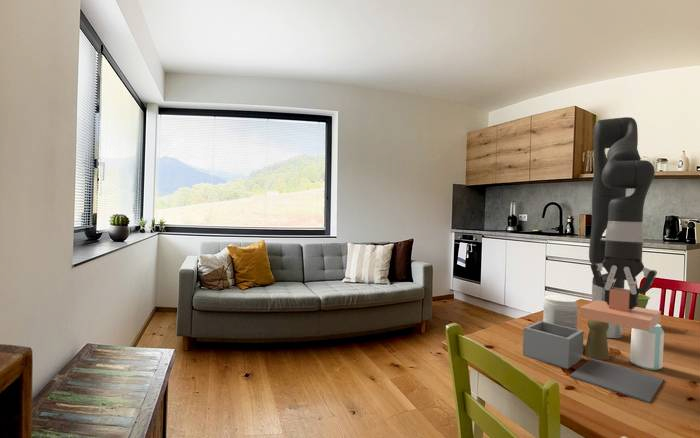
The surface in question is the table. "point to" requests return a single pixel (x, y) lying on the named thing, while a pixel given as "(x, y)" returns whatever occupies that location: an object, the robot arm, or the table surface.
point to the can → (647, 348)
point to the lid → (621, 311)
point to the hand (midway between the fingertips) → (620, 306)
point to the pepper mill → (597, 340)
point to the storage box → (553, 343)
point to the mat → (619, 379)
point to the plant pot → (642, 301)
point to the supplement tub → (560, 311)
